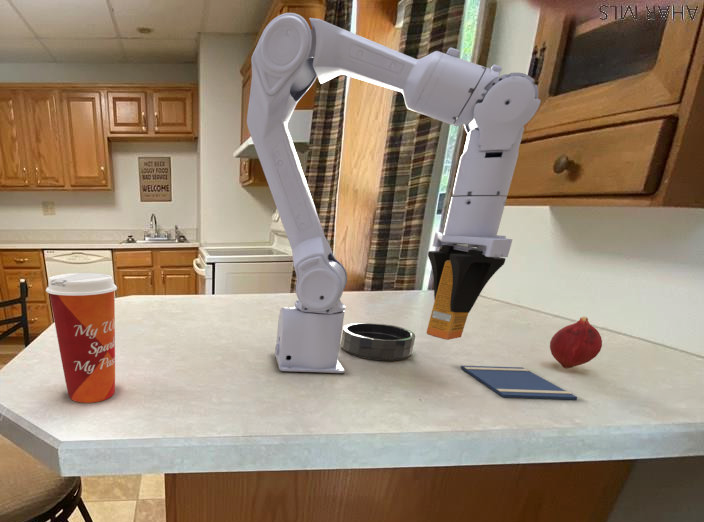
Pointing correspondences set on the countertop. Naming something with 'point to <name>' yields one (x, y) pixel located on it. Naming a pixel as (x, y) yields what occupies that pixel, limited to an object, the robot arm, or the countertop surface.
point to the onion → (576, 344)
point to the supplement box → (445, 310)
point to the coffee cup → (85, 333)
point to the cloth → (517, 383)
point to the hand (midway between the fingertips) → (451, 308)
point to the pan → (377, 341)
